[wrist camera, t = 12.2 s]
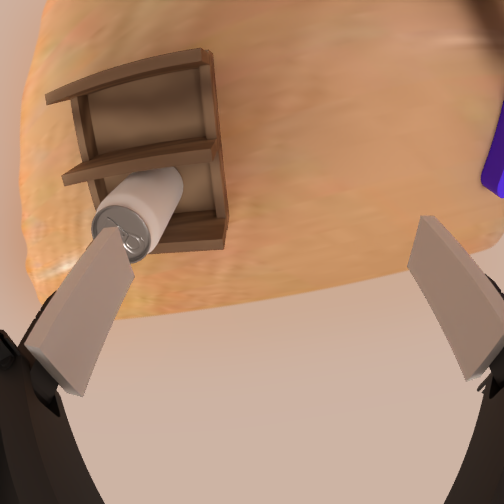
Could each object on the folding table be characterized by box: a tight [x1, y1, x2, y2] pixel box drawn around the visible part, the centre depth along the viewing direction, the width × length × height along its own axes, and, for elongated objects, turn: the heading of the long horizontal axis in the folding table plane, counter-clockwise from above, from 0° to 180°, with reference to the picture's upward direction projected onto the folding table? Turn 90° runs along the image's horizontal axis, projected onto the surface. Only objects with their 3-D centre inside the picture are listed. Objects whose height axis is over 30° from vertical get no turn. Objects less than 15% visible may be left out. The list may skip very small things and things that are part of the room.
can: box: [91, 167, 183, 264], centre depth 27 cm, size 6×6×12 cm
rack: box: [45, 48, 229, 254], centre depth 27 cm, size 20×16×8 cm
